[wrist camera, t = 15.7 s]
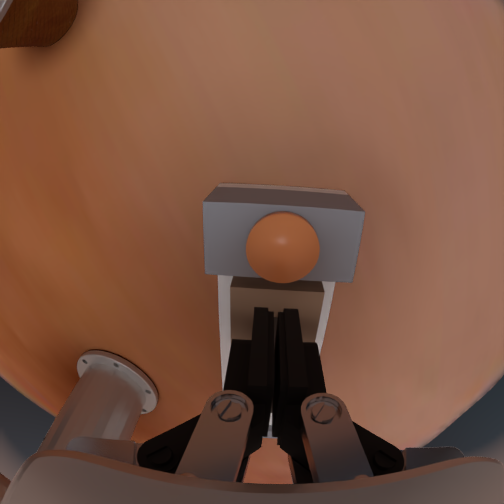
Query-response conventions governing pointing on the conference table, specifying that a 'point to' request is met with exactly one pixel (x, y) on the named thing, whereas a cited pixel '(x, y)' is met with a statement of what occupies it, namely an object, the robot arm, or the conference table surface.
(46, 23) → the disposable coffee cup
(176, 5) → the conference table surface
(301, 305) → the carriage
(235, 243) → the rail track
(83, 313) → the conference table surface
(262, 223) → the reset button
